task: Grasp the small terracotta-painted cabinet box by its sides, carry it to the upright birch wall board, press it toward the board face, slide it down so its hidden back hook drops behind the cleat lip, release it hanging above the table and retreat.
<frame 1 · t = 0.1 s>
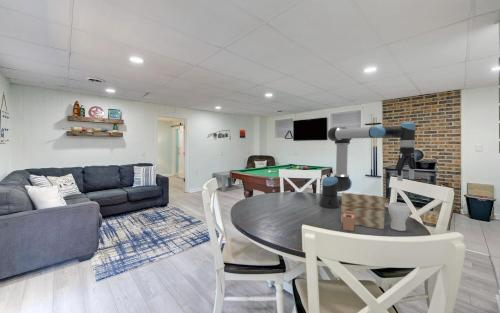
hand: (405, 179, 138), 28 cm above the table, fingers open, 13 cm apart
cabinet: (348, 228, 130), on the table
wallboard: (361, 224, 137), on the table
cup: (398, 228, 129), on the table
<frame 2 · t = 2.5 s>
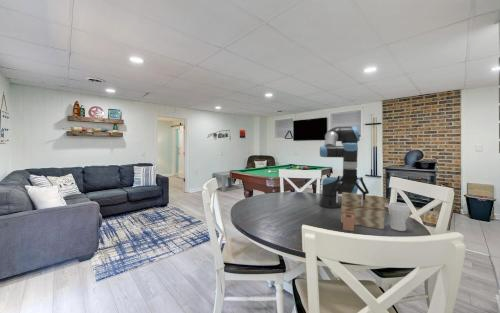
hand: (349, 203, 129), 16 cm above the table, fingers open, 13 cm apart
nothing on the table moved.
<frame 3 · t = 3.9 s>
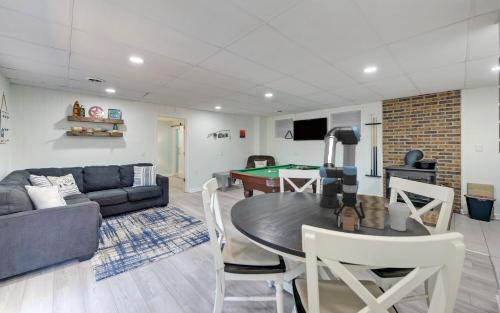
hand: (348, 227, 130), 1 cm above the table, fingers open, 10 cm apart
nothing on the table moved.
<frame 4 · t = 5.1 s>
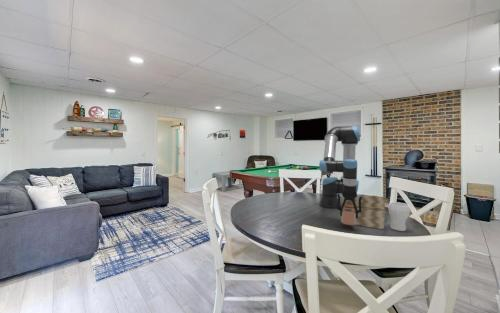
hand: (348, 221, 130), 4 cm above the table, fingers closed on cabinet, 6 cm apart
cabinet: (348, 222, 131), point 3 cm above the table, touching gripper
everything else where it was.
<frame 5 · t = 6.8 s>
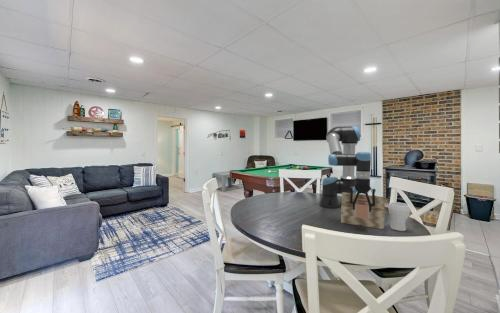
hand: (361, 215, 128), 8 cm above the table, fingers closed on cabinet, 6 cm apart
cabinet: (361, 216, 129), point 8 cm above the table, touching gripper
everything else where it was.
when the fingers open (5 cm above the table, at t = 8.4 s): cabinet stays where it is, resting on wallboard.
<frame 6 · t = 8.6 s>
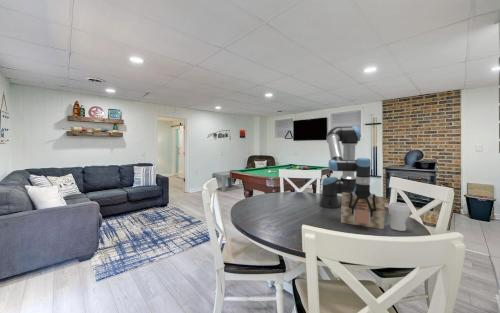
hand: (361, 220, 130), 5 cm above the table, fingers open, 7 cm apart
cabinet: (361, 220, 131), point 4 cm above the table, touching wallboard
everything else where it was.
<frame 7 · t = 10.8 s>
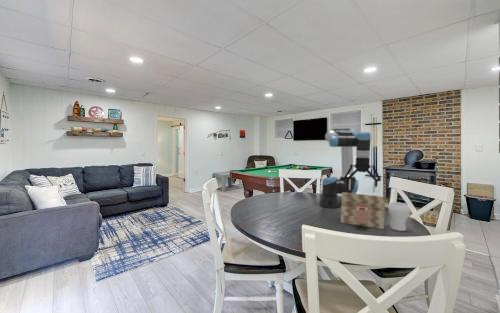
hand: (361, 190, 134), 22 cm above the table, fingers open, 13 cm apart
nothing on the table moved.
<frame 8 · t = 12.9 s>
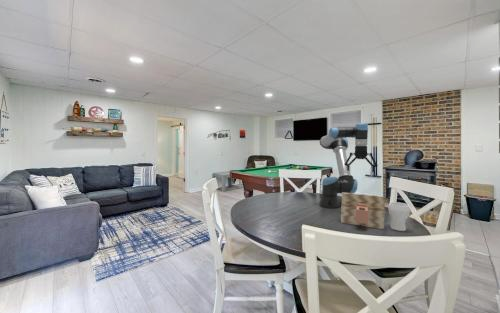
hand: (360, 176, 149), 29 cm above the table, fingers open, 13 cm apart
nothing on the table moved.
at the end: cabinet 0.6 cm from the target spot on the wallboard, point 4.3 cm above the wallboard's base; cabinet tilted 3°; the gripper is holding nothing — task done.
